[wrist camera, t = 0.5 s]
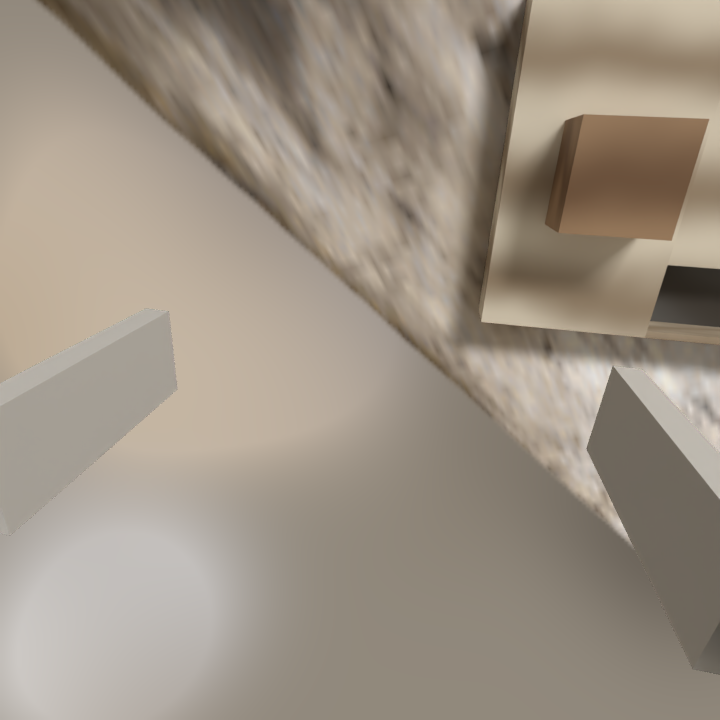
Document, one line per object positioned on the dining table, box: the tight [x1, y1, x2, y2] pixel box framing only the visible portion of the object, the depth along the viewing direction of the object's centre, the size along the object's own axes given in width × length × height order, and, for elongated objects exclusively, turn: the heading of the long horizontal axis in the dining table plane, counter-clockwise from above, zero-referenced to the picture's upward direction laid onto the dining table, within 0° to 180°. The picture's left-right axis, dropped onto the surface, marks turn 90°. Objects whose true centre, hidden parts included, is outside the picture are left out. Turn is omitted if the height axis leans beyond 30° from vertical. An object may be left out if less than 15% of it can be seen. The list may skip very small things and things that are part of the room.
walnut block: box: [545, 114, 709, 241], centre depth 27 cm, size 6×6×4 cm
